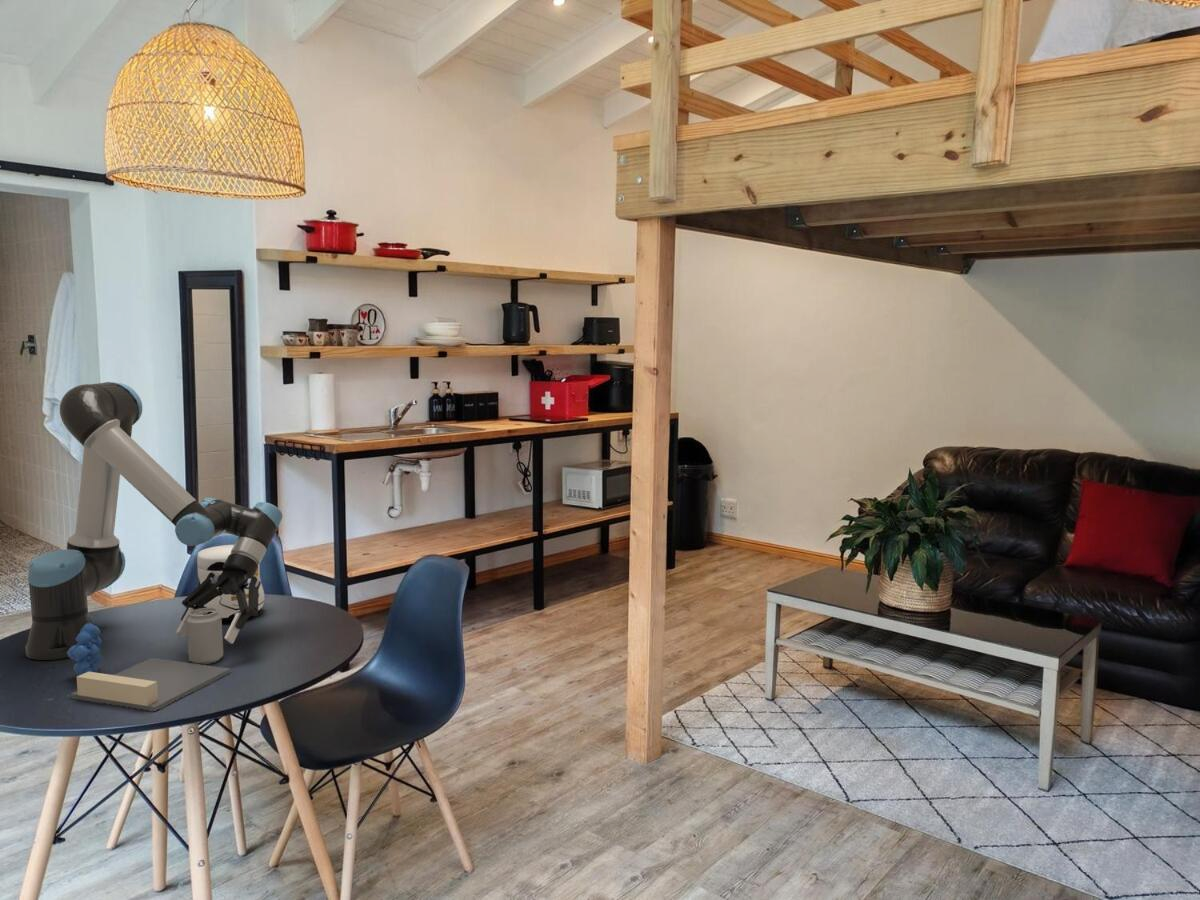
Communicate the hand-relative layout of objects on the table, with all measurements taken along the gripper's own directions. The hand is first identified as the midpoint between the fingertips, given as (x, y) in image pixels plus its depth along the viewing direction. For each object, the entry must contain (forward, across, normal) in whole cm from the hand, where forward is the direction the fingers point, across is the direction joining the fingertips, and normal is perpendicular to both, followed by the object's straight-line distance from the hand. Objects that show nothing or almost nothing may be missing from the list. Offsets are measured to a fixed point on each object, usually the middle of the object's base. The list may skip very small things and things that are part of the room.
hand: (204, 638), depth 206 cm
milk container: (-18, +18, -26) cm, 36 cm away
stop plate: (+15, +1, +7) cm, 16 cm away
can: (+4, 0, -5) cm, 6 cm away
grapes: (+15, +19, +7) cm, 25 cm away
